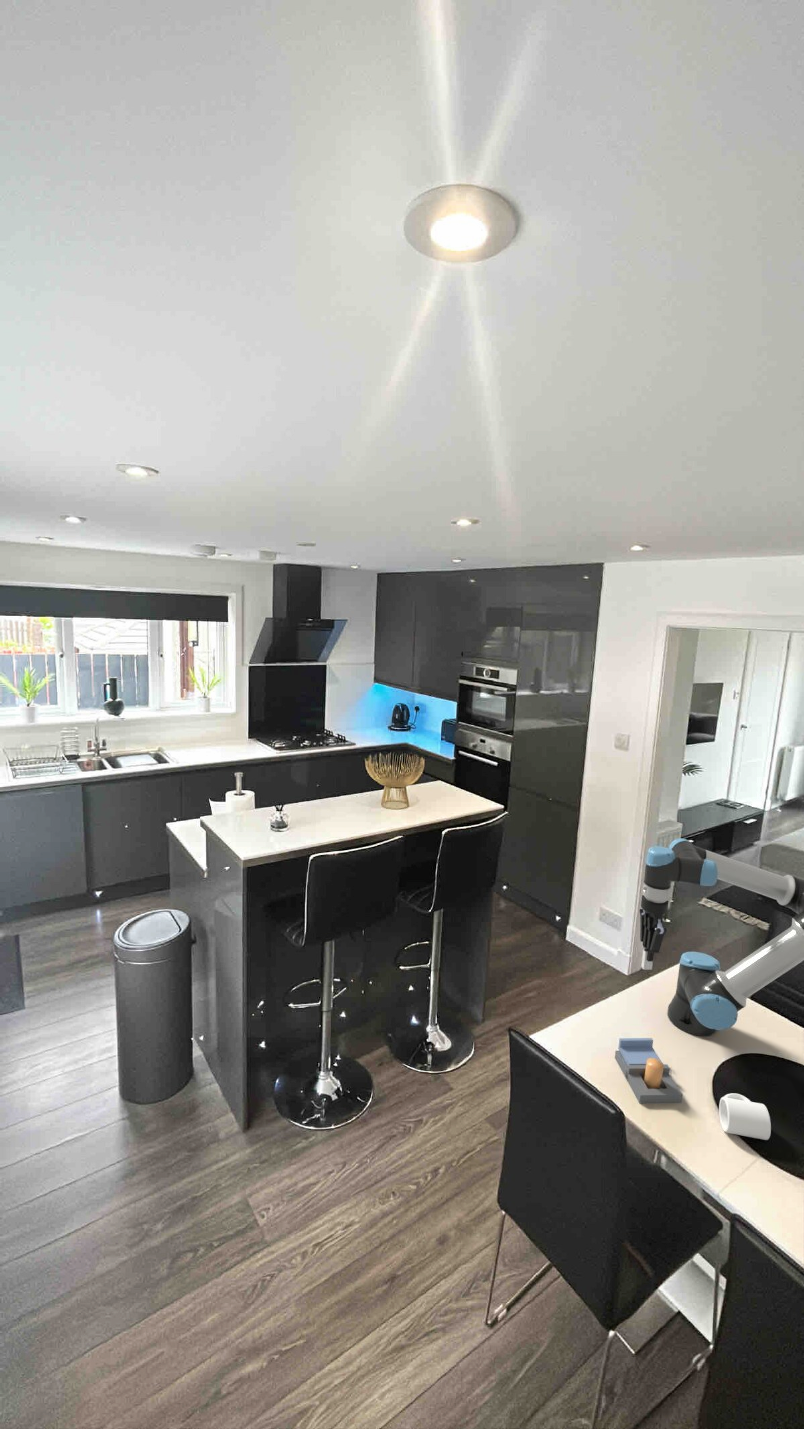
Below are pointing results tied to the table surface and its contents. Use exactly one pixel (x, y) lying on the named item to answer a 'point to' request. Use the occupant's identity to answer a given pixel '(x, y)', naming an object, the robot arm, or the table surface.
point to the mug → (744, 1117)
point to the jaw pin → (653, 1073)
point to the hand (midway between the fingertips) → (646, 968)
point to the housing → (642, 1093)
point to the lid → (637, 1050)
